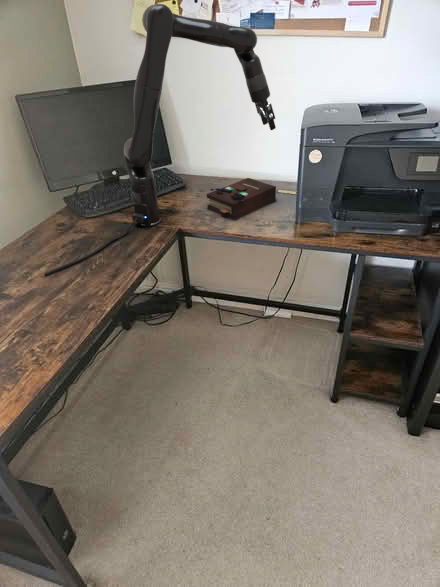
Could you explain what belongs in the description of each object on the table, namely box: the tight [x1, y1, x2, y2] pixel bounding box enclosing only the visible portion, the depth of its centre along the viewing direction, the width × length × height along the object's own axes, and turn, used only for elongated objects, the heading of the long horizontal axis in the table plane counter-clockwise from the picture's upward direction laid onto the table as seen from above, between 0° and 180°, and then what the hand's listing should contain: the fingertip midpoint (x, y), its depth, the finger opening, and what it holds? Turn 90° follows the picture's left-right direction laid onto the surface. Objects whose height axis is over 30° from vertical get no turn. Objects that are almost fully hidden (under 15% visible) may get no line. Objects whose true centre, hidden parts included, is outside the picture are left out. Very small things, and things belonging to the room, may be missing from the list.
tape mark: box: [277, 189, 297, 195], centre depth 184 cm, size 2×9×1 cm, turn 64°
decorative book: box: [206, 177, 277, 221], centre depth 173 cm, size 19×8×30 cm
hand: (269, 126), depth 164 cm, fingers open, 8 cm apart
